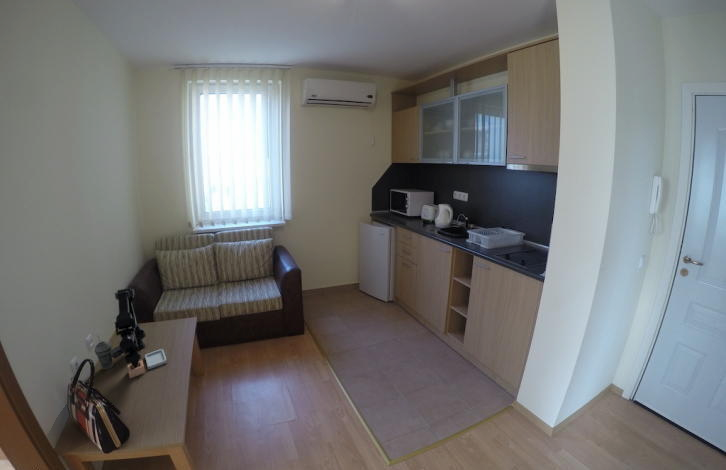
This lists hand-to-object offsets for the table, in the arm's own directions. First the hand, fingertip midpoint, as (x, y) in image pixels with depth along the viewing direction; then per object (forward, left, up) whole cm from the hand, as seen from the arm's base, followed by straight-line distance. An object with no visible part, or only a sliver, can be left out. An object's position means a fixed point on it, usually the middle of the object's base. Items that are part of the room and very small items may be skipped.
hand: (135, 364), depth 169 cm
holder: (0, 0, -5) cm, 5 cm away
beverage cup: (-16, -12, -5) cm, 21 cm away
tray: (-5, +9, -5) cm, 12 cm away
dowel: (0, 0, -5) cm, 5 cm away
